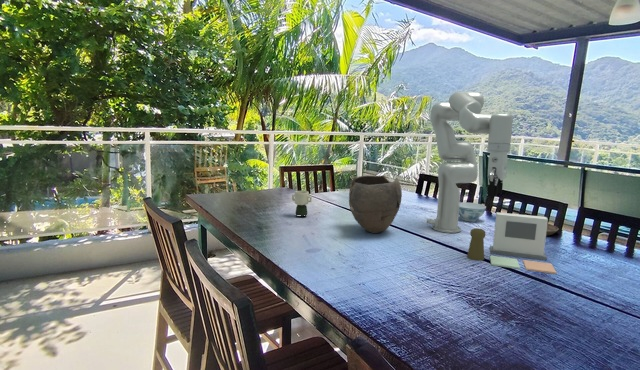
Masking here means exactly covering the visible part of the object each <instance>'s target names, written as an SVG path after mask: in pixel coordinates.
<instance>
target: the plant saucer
mask: <svg viewBox="0 0 640 370" xmlns="http://www.w3.org/2000/svg"><path fill="white" fill-rule="evenodd" d="M558 230H559V227H558V226H556V225H553V224H551V223H549V222H548V223H547V231H546V237H547V236H548V237H549V236H552V235H554V234H555V233H557V232H558Z"/></svg>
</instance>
